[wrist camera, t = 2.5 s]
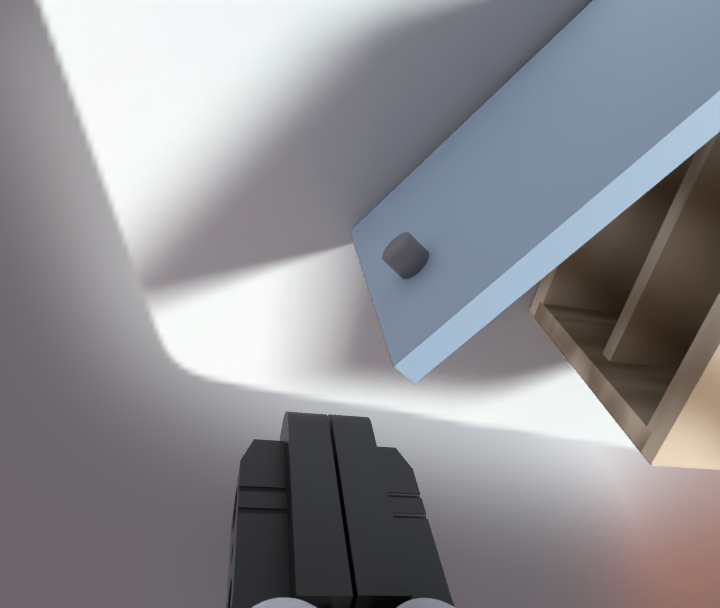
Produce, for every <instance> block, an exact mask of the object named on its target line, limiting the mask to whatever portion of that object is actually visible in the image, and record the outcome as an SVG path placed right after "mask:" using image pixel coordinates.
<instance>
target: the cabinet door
mask: <svg viewBox="0 0 720 608" xmlns="http://www.w3.org/2000/svg"><path fill="white" fill-rule="evenodd" d="M719 132H720V0H592V1H591V2H590V3H589V4H588V5H587V6H586V7H585V8H584V9H583V10H582V11H581V12H580V13H579V14H578V15H577V16H576V17H575V18H574V19H572V20H571V21H570V22H569V23H568V24H567V25H566V26H565V27H564V28H563V29H562V30H561V31H560V32H559V33H558V34H557V35H556V36H555V37H554V38H553V39H551V40H550V41H549V42H548V43H547V44H546V45H545V46H544V47H543V48H542V49H541V50H540V51H539V52H538V53H537V54H536V55H535V56H534V57H533V58H531V59H530V60H529V61H528V62H527V63H526V64H525V65H524V66H523V67H522V68H521V69H520V70H519V71H518V72H517V73H516V74H515V75H514V76H513V77H511V78H510V79H509V80H508V81H507V82H506V83H505V84H504V85H503V86H502V87H501V88H500V89H499V90H498V91H497V92H496V93H495V94H494V95H493V96H492V97H490V98H489V99H488V100H487V101H486V102H485V103H484V104H483V105H482V106H481V107H480V108H479V109H478V110H477V111H476V112H475V113H474V114H473V115H472V116H470V117H469V118H468V119H467V120H466V121H465V122H464V123H463V124H462V125H461V126H460V127H459V128H458V129H457V130H456V131H455V132H454V133H453V134H452V135H450V136H449V137H448V138H447V139H446V140H445V141H444V142H443V143H442V144H441V145H440V146H439V147H438V148H437V149H436V150H435V151H434V152H433V153H432V154H431V155H429V156H428V157H427V158H426V159H425V160H424V161H423V162H422V163H421V164H420V165H419V166H418V167H417V168H416V169H415V170H414V171H413V172H412V173H411V174H409V175H408V176H407V177H406V178H405V179H404V180H403V181H402V182H401V183H400V184H399V185H398V186H397V187H396V188H395V189H394V190H393V191H392V192H391V193H389V194H388V195H387V196H386V197H385V198H384V199H383V200H382V201H381V202H380V203H379V204H378V205H377V206H376V207H375V208H374V209H373V210H372V211H371V212H370V213H368V214H367V215H366V216H365V217H364V218H363V219H362V220H361V221H360V222H359V223H358V224H357V225H356V226H355V227H354V228H353V229H352V230H351V231H350V233H351V236H352V239H353V243H354V246H355V249H356V252H357V255H358V258H359V261H360V264H361V267H362V271H363V274H364V277H365V280H366V283H367V286H368V289H369V292H370V295H371V299H372V302H373V305H374V308H375V311H376V314H377V317H378V320H379V323H380V327H381V330H382V333H383V336H384V339H385V342H386V345H387V348H388V351H389V355H390V358H391V361H392V364H393V367H394V368H395V369H396V370H398V371H399V372H400V373H401V374H403V375H404V376H405V377H406V378H407V379H409V380H410V381H411V382H412V383H413V384H416V383H417V382H418V381H419V380H420V379H422V378H423V377H424V376H425V375H426V374H428V373H429V372H430V371H431V370H432V369H434V368H435V367H436V366H437V365H438V364H440V363H441V362H442V361H443V360H445V359H446V358H447V357H448V356H449V355H451V354H452V353H453V352H454V351H455V350H457V349H458V348H459V347H460V346H461V345H463V344H464V343H465V342H466V341H467V340H469V339H470V338H471V337H472V336H473V335H475V334H476V333H477V332H478V331H480V330H481V329H482V328H483V327H484V326H486V325H487V324H488V323H489V322H490V321H492V320H493V319H494V318H495V317H496V316H498V315H499V314H500V313H501V312H502V311H504V310H505V309H506V308H507V307H509V306H510V305H511V304H512V303H513V302H515V301H516V300H517V299H518V298H519V297H521V296H522V295H523V294H524V293H525V292H527V291H528V290H529V289H530V288H531V287H533V286H534V285H535V284H536V283H538V282H539V281H540V280H541V279H542V278H544V277H545V276H546V275H547V274H548V273H550V272H551V271H552V270H553V269H554V268H556V267H557V266H558V265H559V264H560V263H562V262H563V261H564V260H565V259H567V258H568V257H569V256H570V255H571V254H573V253H574V252H575V251H576V250H577V249H579V248H580V247H581V246H582V245H583V244H585V243H586V242H587V241H588V240H589V239H591V238H592V237H593V236H594V235H596V234H597V233H598V232H599V231H600V230H602V229H603V228H604V227H605V226H606V225H608V224H609V223H610V222H611V221H612V220H614V219H615V218H616V217H617V216H618V215H620V214H621V213H622V212H623V211H624V210H626V209H627V208H628V207H629V206H631V205H632V204H633V203H634V202H635V201H637V200H638V199H639V198H640V197H641V196H643V195H644V194H645V193H646V192H647V191H649V190H650V189H651V188H652V187H653V186H655V185H656V184H657V183H658V182H660V181H661V180H662V179H663V178H664V177H666V176H667V175H668V174H669V173H670V172H672V171H673V170H674V169H675V168H676V167H678V166H679V165H680V164H681V163H682V162H684V161H685V160H686V159H687V158H689V157H690V156H691V155H692V154H693V153H695V152H696V151H697V150H698V149H699V148H701V147H702V146H703V145H704V144H705V143H707V142H708V141H709V140H710V139H711V138H713V137H714V136H715V135H716V134H718V133H719Z"/></svg>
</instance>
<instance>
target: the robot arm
mask: <svg viewBox="0 0 720 608" xmlns="http://www.w3.org/2000/svg"><path fill="white" fill-rule="evenodd" d="M226 608H456V607H455V606H454V603H453V601H452V598H451V595H450V592H449V588H448V585H447V582H446V579H445V575H444V572H443V568H442V565H441V562H440V559H439V555H438V552H437V549H436V545H435V542H434V539H433V536H432V532H431V529H430V525H429V522H428V519H426V512H425V509H424V505H423V502H422V499H421V498H420V492H419V489H418V485H417V482H416V479H415V475H414V472H413V469H412V468H411V467H410V465H409V464H408V463H407V462H406V460H405V459H404V458H403V457H402V456H401V454H400V453H399V452H398V450H397V449H396V448H390V447H389V448H388V447H377V445H376V441H375V437H374V433H373V429H372V424H371V421H370V419H369V418H368V417H356V416H342V415H328V416H327V415H326V414H311V413H298V412H286V413H285V415H284V420H283V425H282V430H281V436H280V441H272V440H255V439H254V440H253V442H252V444H251V445H250V447H249V448H248V450H247V451H246V453H245V455H244V456H243V457H242V459H241V462H240V469H239V475H238V482H237V489H236V496H235V503H234V510H233V517H232V524H231V539H230V555H229V570H228V585H227V601H226Z"/></svg>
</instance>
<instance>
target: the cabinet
mask: <svg viewBox="0 0 720 608" xmlns="http://www.w3.org/2000/svg"><path fill="white" fill-rule="evenodd" d="M529 312H530V313H531V314H532V315H533V317H534V318H535V319H536V320H537V322H538V323H539V324H540V326H541V327H542V328H543V329H544V331H545V332H546V333H547V334H548V336H549V337H550V338H551V340H552V341H553V342H554V343H555V345H556V346H557V347H558V348H559V350H560V351H561V352H562V354H563V355H564V356H565V357H566V359H567V360H568V361H569V362H570V364H571V365H572V366H573V368H574V369H575V370H576V371H577V373H578V374H579V375H580V376H581V378H582V379H583V380H584V382H585V383H586V384H587V385H588V387H589V388H590V389H591V390H592V392H593V393H594V394H595V396H596V397H597V398H598V399H599V401H600V402H601V403H602V404H603V406H604V407H605V408H606V410H607V411H608V412H609V413H610V415H611V416H612V417H613V418H614V420H615V421H616V422H617V423H618V425H619V426H620V427H621V429H622V430H623V431H624V432H625V434H626V435H627V436H628V437H629V439H630V440H631V441H632V443H633V444H634V445H635V446H636V448H637V449H638V450H639V451H640V453H641V454H642V455H643V456H644V458H645V459H646V460H647V462H648V463H649V464H650V465H651V466H667V467H668V466H669V467H684V468H701V469H717V470H720V132H719V133H718V134H716V135H715V136H714V137H713V138H711V139H710V140H709V141H708V142H707V143H705V144H704V145H703V146H702V147H701V148H699V149H698V150H697V151H696V152H695V153H693V154H692V155H691V156H690V157H689V158H687V159H686V160H685V161H684V162H682V163H681V164H680V165H679V166H678V167H676V168H675V169H674V170H673V171H672V172H670V173H669V174H668V175H667V176H666V177H664V178H663V179H662V180H661V181H660V182H658V183H657V184H656V185H655V186H653V187H652V188H651V189H650V190H649V191H647V192H646V193H645V194H644V195H643V196H641V197H640V198H639V199H638V200H637V201H635V202H634V203H633V204H632V205H631V206H629V207H628V208H627V209H626V210H624V211H623V212H622V213H621V214H620V215H618V216H617V217H616V218H615V219H614V220H612V221H611V222H610V223H609V224H608V225H606V226H605V227H604V228H603V229H602V230H600V231H599V232H598V233H597V234H596V235H594V236H593V237H592V238H591V239H589V240H588V241H587V242H586V243H585V244H583V245H582V246H581V247H580V248H579V249H577V250H576V251H575V252H574V253H573V254H571V255H570V256H569V257H568V258H567V259H565V260H564V261H563V262H562V263H560V264H559V265H558V266H557V267H556V268H554V269H553V270H552V271H551V272H550V273H548V274H547V275H546V276H545V277H544V278H542V279H541V281H540V284H539V286H538V289H537V291H536V294H535V297H534V299H533V302H532V305H531V307H530V310H529Z"/></svg>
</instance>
